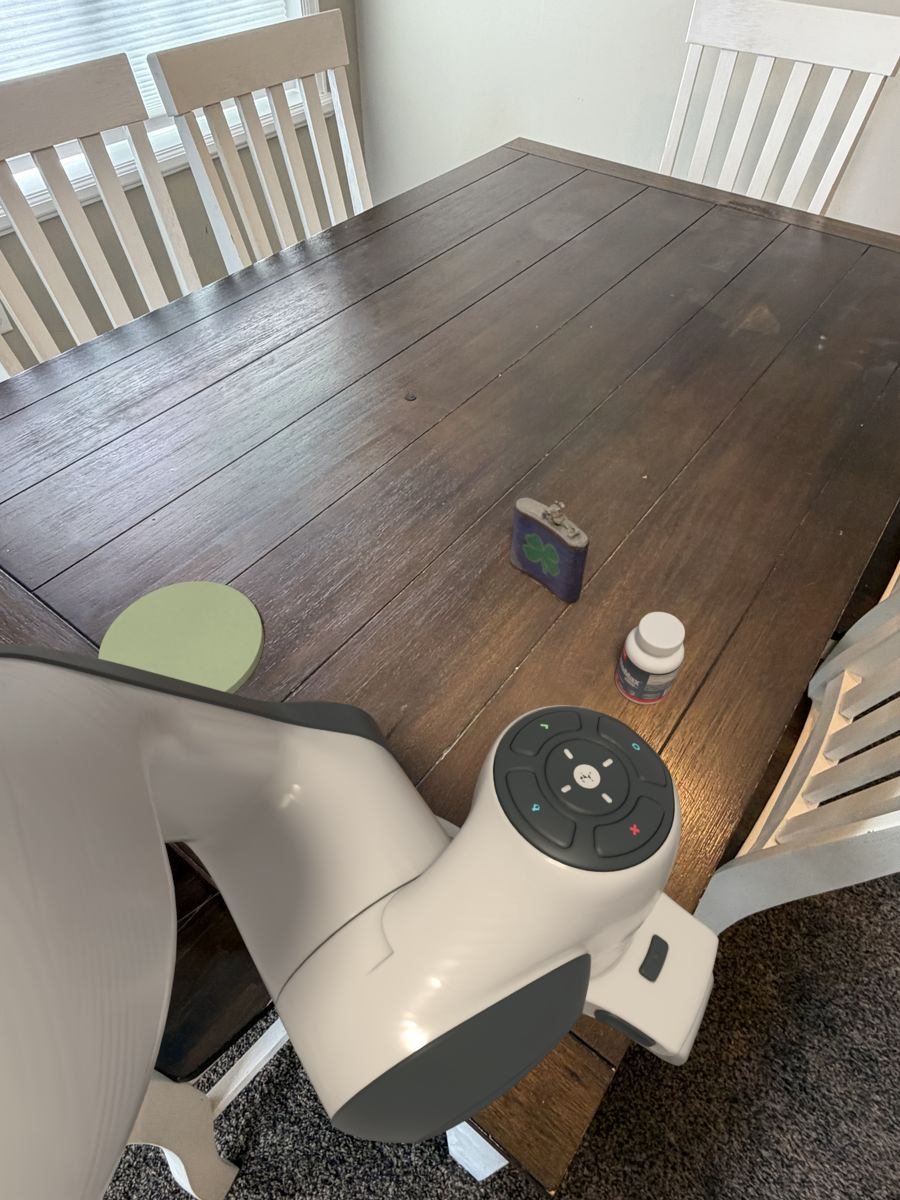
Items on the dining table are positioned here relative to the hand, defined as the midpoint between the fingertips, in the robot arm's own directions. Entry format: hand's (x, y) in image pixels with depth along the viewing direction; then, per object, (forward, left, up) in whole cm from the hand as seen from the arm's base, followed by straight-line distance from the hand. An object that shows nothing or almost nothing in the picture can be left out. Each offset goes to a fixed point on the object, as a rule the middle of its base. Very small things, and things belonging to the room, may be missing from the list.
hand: (529, 961), depth 50 cm
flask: (+36, +16, -6) cm, 40 cm away
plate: (+9, +44, -6) cm, 45 cm away
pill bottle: (+29, +3, -6) cm, 29 cm away
